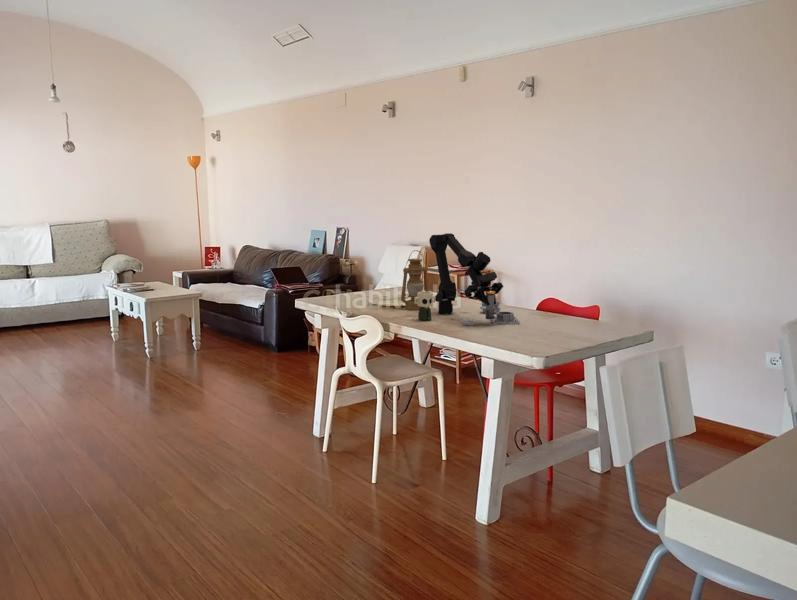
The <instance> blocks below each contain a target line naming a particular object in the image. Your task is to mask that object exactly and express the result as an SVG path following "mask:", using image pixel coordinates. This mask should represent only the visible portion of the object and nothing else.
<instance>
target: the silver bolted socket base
mask: <svg viewBox="0 0 797 600" xmlns="http://www.w3.org/2000/svg"><path fill="white" fill-rule="evenodd" d="M490 321H491V323H492V322H493V323H492V325H520V324H521V321H520V320H519V319H518V318H517V316H515V314H514V312H511V311H499V312H496V314H495V315H494V319H490Z"/></svg>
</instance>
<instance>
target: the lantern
mask: <svg viewBox="0 0 797 600" xmlns="http://www.w3.org/2000/svg"><path fill="white" fill-rule="evenodd" d="M413 252H418V253H419V254H420V255H421V256H422V258H423V259H422V258H411V256H412V254H413ZM408 262H409V264H408ZM421 262H423V263H424V265H425V266H423V264H422V263H421ZM407 265H408V266H407ZM406 266H407V267H406ZM402 270H403V277H402V278H403V279H402V287H401V295H400V300H401V301H400V302H402V303H404V309H405V310H407V311H419V309H420V306H418V305H417V304H415V303H414V298H415V297H417V293H418V292H430V290H429V279H428V270H429V267H427V264H426V262H425V258H424V256H423V254H422V252H421V251H420V250H412V251H411V253H410V255H409V257H408V258H407V261H406V264H405V266H404V268H403V269H402ZM422 274H423V278H424V279H423V280H424V281H423V280H422V279H421V278H422ZM408 277H409V278H408ZM407 279H408V280H407ZM406 290H407V294H406ZM423 290H424V291H423ZM406 296H407V297H408V298H410V299H408V300H406V299H405V298H406ZM416 302H417V299H416Z"/></svg>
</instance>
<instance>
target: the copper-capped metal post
mask: <svg viewBox="0 0 797 600" xmlns="http://www.w3.org/2000/svg"><path fill="white" fill-rule="evenodd" d="M485 294H486V298H487V300H488V302H489V305H488V306H487V305H486V313H485V320H491V319H494V316H495V314H494V294H495V291H492V290H487V291H485ZM495 295H496V294H495Z"/></svg>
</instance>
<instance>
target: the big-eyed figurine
mask: <svg viewBox="0 0 797 600" xmlns="http://www.w3.org/2000/svg"><path fill="white" fill-rule="evenodd" d="M435 296H436V295H434V294H433V292H432V291H429V292H425V291H422V292H418V293H417V297H415V298H414V303H415V304H417V305H418V306H420V309H419V310H418V315H417V316H418V317H417V319H418V320H420V321H428V320H432V311H431V307H432V306H433V303H436V301H435ZM416 299H417V302H416Z"/></svg>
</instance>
